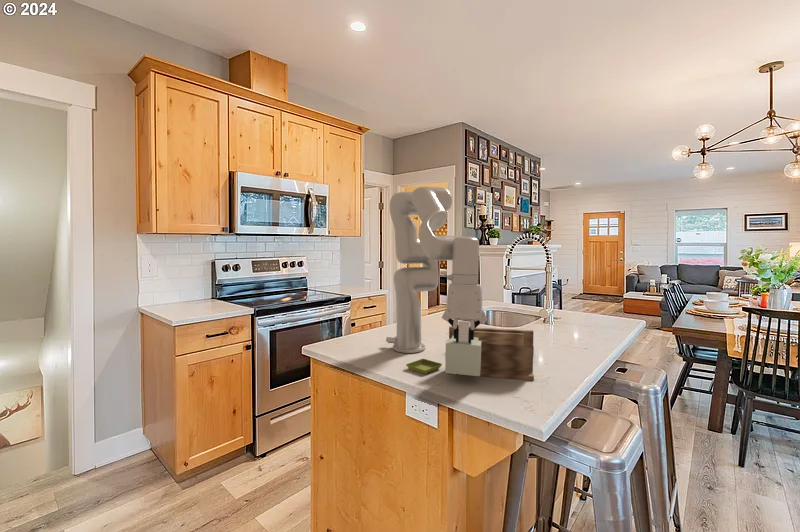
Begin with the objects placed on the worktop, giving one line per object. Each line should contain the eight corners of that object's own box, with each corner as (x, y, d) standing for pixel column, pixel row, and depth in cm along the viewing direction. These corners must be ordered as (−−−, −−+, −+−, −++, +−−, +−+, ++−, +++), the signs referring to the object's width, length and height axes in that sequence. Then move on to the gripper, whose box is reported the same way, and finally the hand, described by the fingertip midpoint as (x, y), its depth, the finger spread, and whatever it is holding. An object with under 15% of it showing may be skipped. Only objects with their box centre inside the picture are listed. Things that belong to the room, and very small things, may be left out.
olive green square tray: (425, 376, 124) (425, 370, 124) (405, 370, 130) (405, 364, 130) (442, 370, 130) (442, 363, 130) (422, 364, 137) (422, 358, 136)
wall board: (447, 373, 126) (447, 330, 125) (449, 368, 131) (449, 326, 130) (533, 380, 120) (534, 334, 119) (532, 374, 125) (533, 330, 124)
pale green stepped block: (445, 373, 117) (446, 322, 115) (448, 363, 125) (449, 316, 124) (479, 376, 114) (481, 325, 113) (481, 366, 123) (482, 318, 121)
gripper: (435, 280, 114) (434, 343, 115) (493, 282, 110) (492, 347, 111) (438, 277, 121) (438, 336, 123) (494, 279, 117) (492, 340, 119)
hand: (463, 341), depth 117 cm, fingers closed on pale green stepped block, 3 cm apart
